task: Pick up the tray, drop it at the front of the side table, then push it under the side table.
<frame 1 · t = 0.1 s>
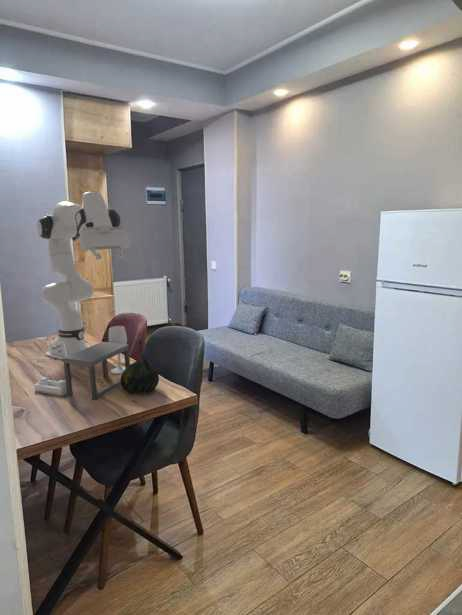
hand: (110, 258, 169), 54 cm above the table, tool tilted 30°, fingers open, 8 cm apart
wineglass: (120, 371, 197), on the table
squash: (141, 391, 173), on the table
tray: (53, 390, 175), on the table
side table: (100, 386, 178), on the table
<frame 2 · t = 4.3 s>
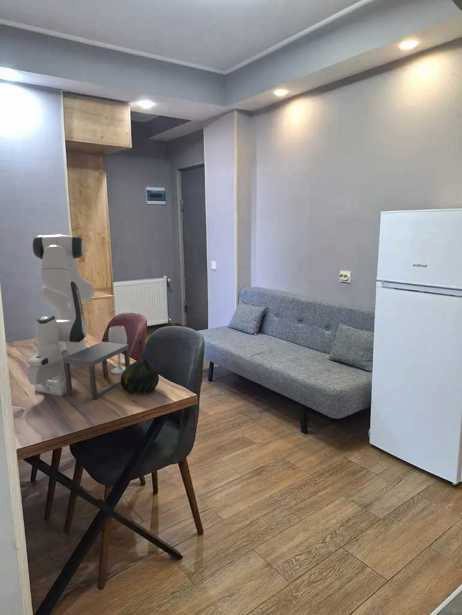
hand: (53, 387, 174), 2 cm above the table, tool pointing down, fingers closed on tray, 6 cm apart
tray: (53, 390, 175), on the table, touching gripper
everything else where it was.
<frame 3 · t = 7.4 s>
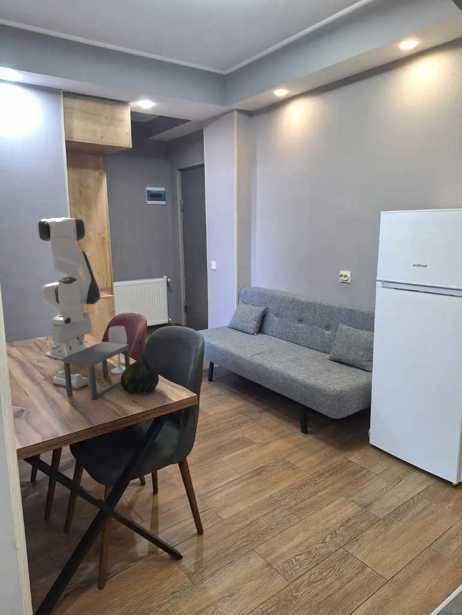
hand: (74, 347, 179), 16 cm above the table, tool pointing down, fingers open, 6 cm apart
tray: (70, 383, 182), on the table
everything else where it was.
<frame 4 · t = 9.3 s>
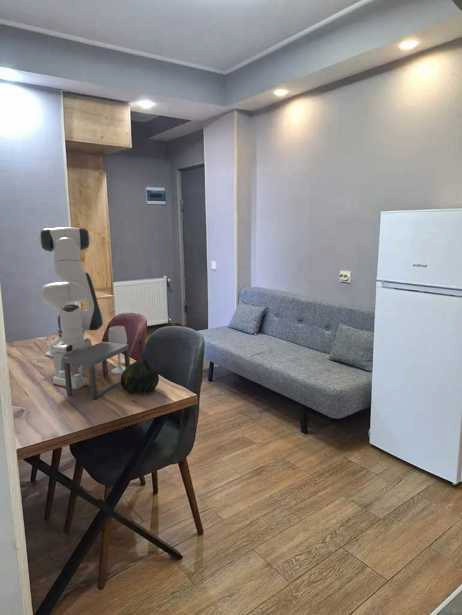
hand: (76, 374, 181), 4 cm above the table, tool pointing down, fingers open, 5 cm apart
tray: (70, 383, 182), on the table, touching gripper
everything else where it was.
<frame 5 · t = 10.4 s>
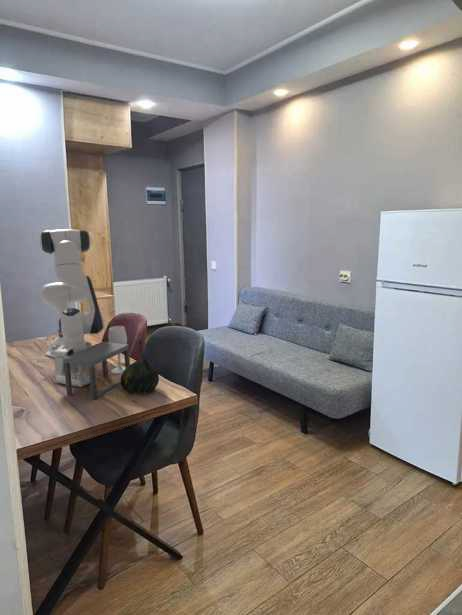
hand: (77, 377, 182), 3 cm above the table, tool pointing down, fingers closed on tray, 2 cm apart
tray: (73, 382, 183), on the table, touching gripper
everything else where it was.
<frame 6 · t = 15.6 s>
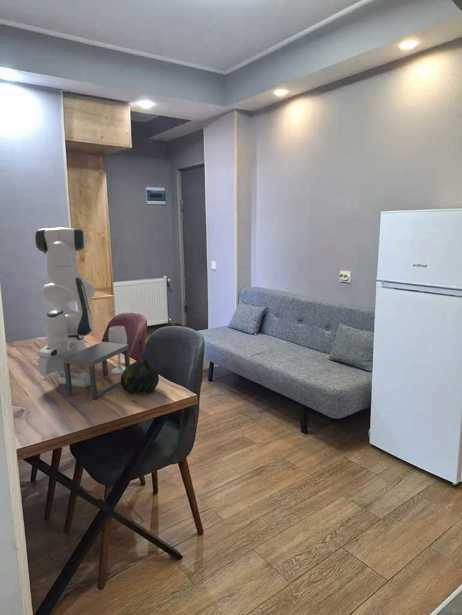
hand: (61, 377, 185), 2 cm above the table, tool pointing down, fingers closed, pressing on tray
tray: (76, 383, 183), on the table, touching gripper
everything else where it was.
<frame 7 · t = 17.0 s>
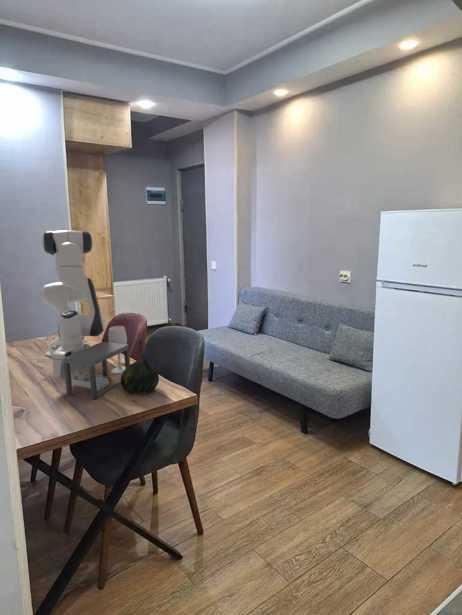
hand: (75, 379, 182), 2 cm above the table, tool pointing down, fingers closed, pressing on tray
tray: (90, 385, 180), on the table, touching gripper
everything else where it was.
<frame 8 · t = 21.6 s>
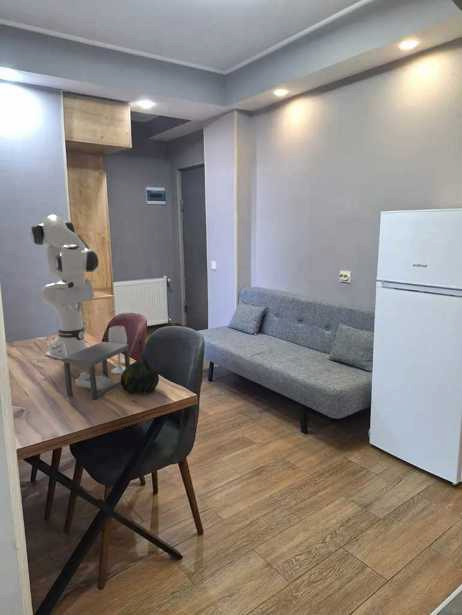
hand: (77, 312, 188), 29 cm above the table, tool pointing down, fingers closed
tray: (93, 386, 179), on the table
everything else where it was.
at the end: tray inside the target area (2.4 cm from its centre), on the table; tray tilted 0°; the gripper is holding nothing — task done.
